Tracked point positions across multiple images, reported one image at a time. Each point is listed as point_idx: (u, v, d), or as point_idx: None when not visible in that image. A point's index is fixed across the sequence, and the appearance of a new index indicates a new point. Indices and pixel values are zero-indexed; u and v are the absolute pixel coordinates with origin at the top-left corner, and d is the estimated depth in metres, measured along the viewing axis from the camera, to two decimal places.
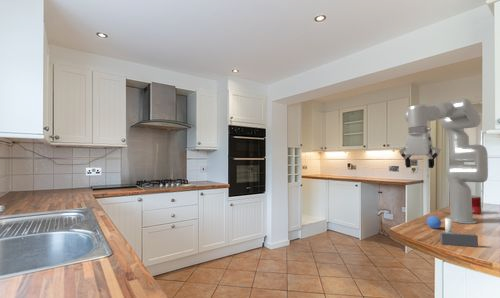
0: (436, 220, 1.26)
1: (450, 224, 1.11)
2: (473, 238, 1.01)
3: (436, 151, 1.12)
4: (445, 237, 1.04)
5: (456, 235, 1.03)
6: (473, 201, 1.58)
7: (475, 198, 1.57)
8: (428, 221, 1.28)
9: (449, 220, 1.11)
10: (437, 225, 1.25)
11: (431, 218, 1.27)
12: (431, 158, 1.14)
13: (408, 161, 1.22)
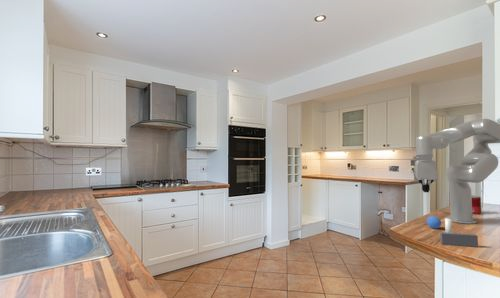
0: (436, 220, 1.26)
1: (450, 224, 1.11)
2: (473, 238, 1.01)
3: None
4: (445, 237, 1.04)
5: (456, 235, 1.03)
6: (473, 201, 1.58)
7: (475, 198, 1.57)
8: (428, 221, 1.28)
9: (449, 220, 1.11)
10: (437, 225, 1.25)
11: (431, 218, 1.27)
12: None
13: None
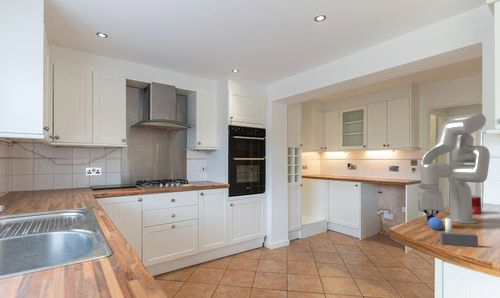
0: (438, 225, 1.23)
1: (450, 224, 1.11)
2: (473, 238, 1.01)
3: None
4: (445, 237, 1.04)
5: (456, 235, 1.03)
6: (473, 201, 1.58)
7: (475, 198, 1.57)
8: (430, 223, 1.26)
9: (449, 220, 1.11)
10: (438, 228, 1.24)
11: (433, 221, 1.24)
12: None
13: None
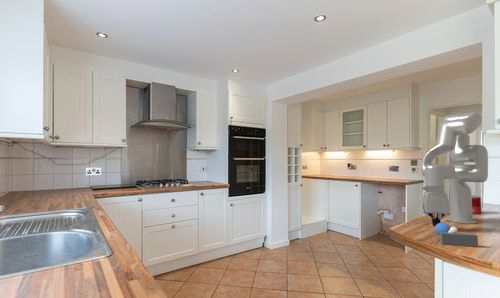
0: None
1: None
2: (473, 238, 1.01)
3: None
4: (445, 237, 1.04)
5: (456, 235, 1.03)
6: (473, 201, 1.58)
7: (475, 198, 1.57)
8: (435, 227, 1.17)
9: (454, 232, 1.05)
10: (443, 223, 1.15)
11: None
12: None
13: None
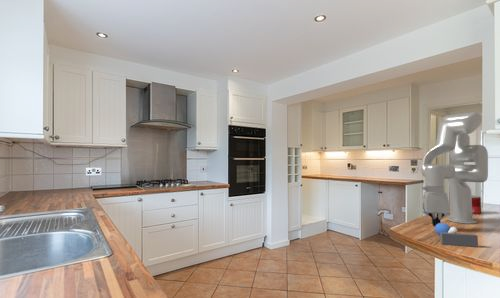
0: None
1: None
2: (473, 238, 1.01)
3: None
4: (445, 237, 1.04)
5: (456, 235, 1.03)
6: (473, 201, 1.58)
7: (475, 198, 1.57)
8: (435, 227, 1.17)
9: (454, 232, 1.05)
10: (442, 223, 1.15)
11: None
12: None
13: None
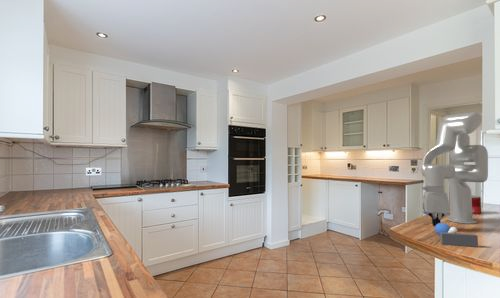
0: None
1: None
2: (473, 238, 1.01)
3: None
4: (445, 237, 1.04)
5: (456, 235, 1.03)
6: (473, 201, 1.58)
7: (475, 198, 1.57)
8: (435, 227, 1.17)
9: (454, 232, 1.05)
10: (442, 223, 1.15)
11: None
12: None
13: None
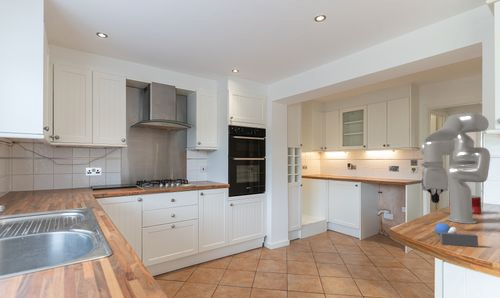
0: None
1: None
2: (473, 238, 1.01)
3: None
4: (445, 237, 1.04)
5: (456, 235, 1.03)
6: (473, 201, 1.58)
7: (475, 198, 1.57)
8: (435, 228, 1.17)
9: (454, 232, 1.05)
10: (442, 223, 1.15)
11: None
12: None
13: None
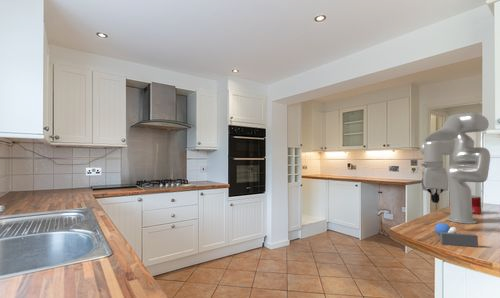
0: None
1: None
2: (473, 238, 1.01)
3: None
4: (445, 237, 1.04)
5: (456, 235, 1.03)
6: (473, 201, 1.58)
7: (475, 198, 1.57)
8: (435, 228, 1.17)
9: (454, 232, 1.05)
10: (442, 223, 1.15)
11: None
12: None
13: None
